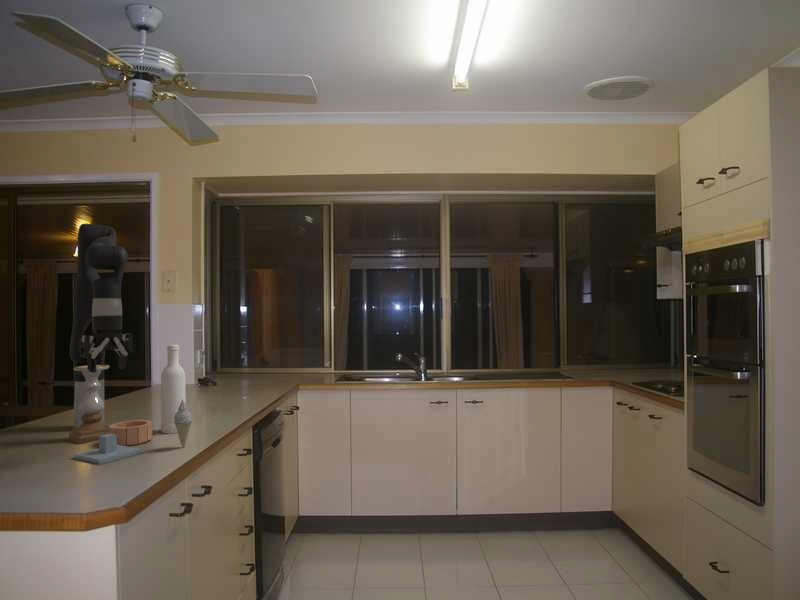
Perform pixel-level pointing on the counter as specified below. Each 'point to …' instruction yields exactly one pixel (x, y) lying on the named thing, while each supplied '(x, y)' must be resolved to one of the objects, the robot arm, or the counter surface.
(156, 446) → the counter surface
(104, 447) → the lid
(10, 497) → the counter surface
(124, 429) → the bowl
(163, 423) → the bottle
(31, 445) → the counter surface
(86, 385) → the candle holder
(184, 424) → the ice cream cone
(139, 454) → the mat
